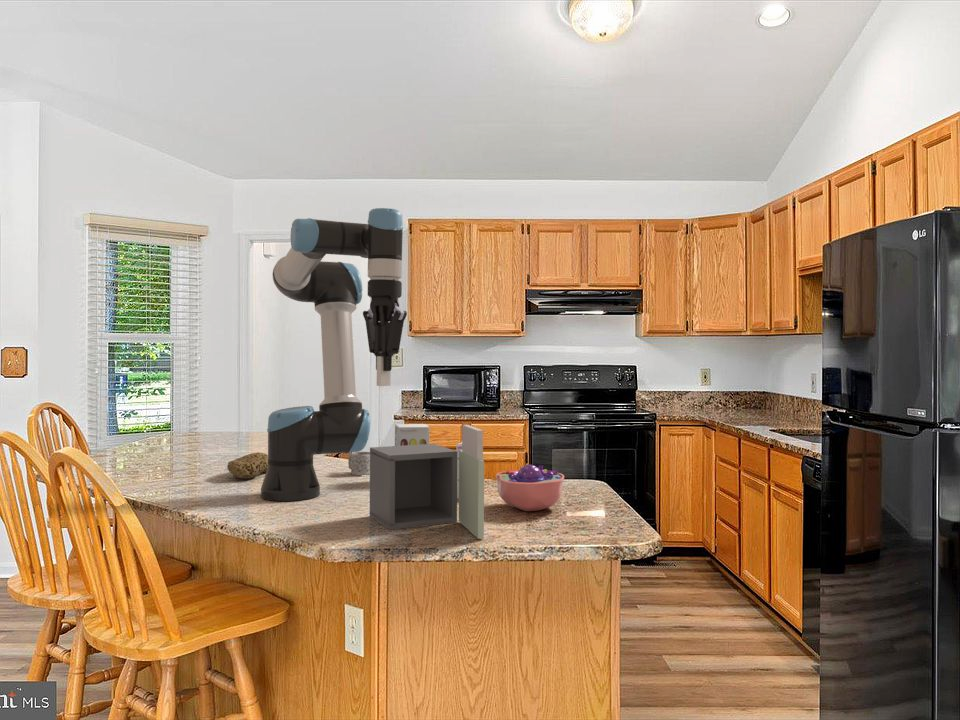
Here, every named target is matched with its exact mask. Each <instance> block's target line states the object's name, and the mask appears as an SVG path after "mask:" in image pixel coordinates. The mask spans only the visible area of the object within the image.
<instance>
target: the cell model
mask: <svg viewBox="0 0 960 720" xmlns="http://www.w3.org/2000/svg"><path fill="white" fill-rule="evenodd" d="M543 468H544V465H541V464H540V465H539V466H538V467H537V466H536V465H533V464H524V465H523V466H522V467H520V468H519V469H515V470H514V469H512V470H505V471H499V472H497V473H496V475H495V476H496V485H497V491H498V496H499V497H500V498H501V500H502V501H503V502H504V503H505V504H506V505H508V506H510V507H512V508H516V509H518V510H521V511H523V512H536V511H542V510H545V509H548V508H550V507H552V506H554V505H555V504H556V503H558V501H559V500H560V499H561V497H562V492H563V483H564V480H565V475H564V474H563V473H561V472H558V470H557V469H555V470H550V469H546V468H545V469H543Z"/></svg>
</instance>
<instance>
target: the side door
mask: <svg viewBox="0 0 960 720" xmlns="http://www.w3.org/2000/svg"><path fill="white" fill-rule="evenodd" d="M461 426H462V427H461V430H462V431H461V436H462V439H461V442H462V450H459V499H458V522H459V523H460V524H461V525H462V526H463V527H465V528H466V530H468V531H469V532H470V533H471V534H472V535H473V536H474V537H475V538H476V539H478V540H480V539H481V540H482V539H484V538H485V534H484V533H485V460H484V430H483V429H480V428H478V427H475V426H473V425H470V424H462V425H461Z"/></svg>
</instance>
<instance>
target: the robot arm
mask: <svg viewBox="0 0 960 720" xmlns="http://www.w3.org/2000/svg"><path fill="white" fill-rule="evenodd" d="M367 217H368V219H367V223H361V222H357V223H356V222H349V221H347V222H346V221H336V220H326V219H325V220H324V219H316V218H309V217H308V218H296V219H294V220H293V221H292V223H291V227H290V245H291V246H290V249H289V250H288V252H287V253H286V254H285V256H283V257H281V258H279V259H278V261H276V263H275V264H274V266H273V270H272V280H273V284H274V285H275V287H276V289H277V290H278V291H279V292H280V293H281V294H283V295H284V296H285V297H287V298H289V299H290V300H294V301H297V302H300V303H301V302H302V303H313V304H314V310H315V312H316V313H318V315H320V330H321V331H320V332H321V335H320V336H321V351H322V352H321V353H322V375H323V395H324V397H323V398H324V399H323V400H322V401H321V402H320V403H319V406H318V407H319V408H318V409H319V410H317V411H315V409H314V407H313V406H311V405H302V406H293V407H287V408H281V409H278V410H277V409H276V410H274V411H272V412H270V414H269V416H268V417H267V418H268V422H267V429H266V431H267V455H268V469H267V472H265V474H264V478H263V482H262V483H261V484H262V485H261V487H260V498H261V499H263V500H267V501H272V502H274V501H276V502H291V501H292V502H293V501H303V500H309V499H312V498H317V497H318V496H320V495H321V489H320V488H321V486H320V482H319V480H318V476H317V474H316V470H315V467H314V456H315V455H328V454H329V455H330V454H333V455H334V454H351V453H354V452H362V451H363V450H364V449H365V447H366V446H367V443H368V440H369V437H370V431H371V416H370V412H369V411H368V409H365V408H363V402H362V401H361V400H360V399H359V398H358V397H357V391H356V390H357V387H356V374H355V373H356V371H355V355H354V339H353V336H354V335H353V321H352V319H353V318H352V314H353V313H354V312H356V310H357V305H358V304H360V303H361V301H362V299H363V282H362V277H361V274H360V272H359V269H358V268H357V266H355V265H354V264H352V263H348V262H342V261H337V262H336V261H322V260H323V259H324V258H325V256H326V255H338V256H352V257H356V256H357V257H360V258H364V259H367V277H368V278H369V280H368V281H367V296H368V297H369V298H371V300H370V304H369V308H368V309H367V310H364V311H362V316H363V319H364V321H365V327H366V328H365V329H366V334H367V342H368V343H367V344H368V350H369V353H372V354H374V356H375V370H376V387H387V386H391V371H392V368H393V367H392V365H393V363H392V362H393V361H392V360H393V359H392V358H393V357H394V355H398V354H399V352H400V347H401V341H402V334H403V328H404V322H405V320H406V318H407V316H408V312H407V311H406V310H402V309H401V308H400V303H399V299H400V298H401V297H402V295H403V293H402V291H403V290H402V289H403V284H402V281H401V279H402V278H403V277H402V274H403V271H402V269H403V267H402V265H403V233H404V232H403V230H404V224H403V223H404V222H403V214H402V212H401V211H400V210H398V209H396V208H388V207H387V208H385V207H379V208H377V207H376V208H373V209H371V210H370V211H369V212H368V216H367Z"/></svg>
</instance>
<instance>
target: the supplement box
mask: <svg viewBox="0 0 960 720" xmlns="http://www.w3.org/2000/svg"><path fill="white" fill-rule="evenodd" d="M430 431H431V429H430V426H429V425H427V424H425V423H396V424H394V446H405V445H422V444H430Z"/></svg>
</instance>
